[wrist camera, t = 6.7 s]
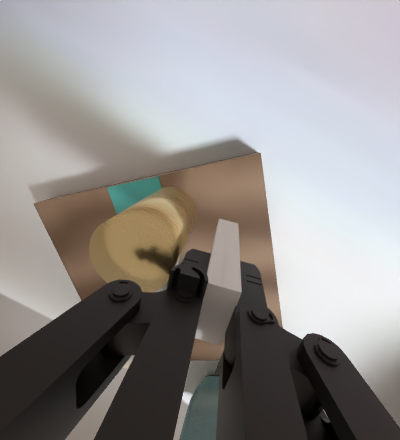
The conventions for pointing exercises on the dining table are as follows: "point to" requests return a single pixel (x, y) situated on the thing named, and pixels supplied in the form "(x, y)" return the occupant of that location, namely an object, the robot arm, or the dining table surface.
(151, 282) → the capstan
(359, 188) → the dining table surface
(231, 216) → the base plate
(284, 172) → the dining table surface
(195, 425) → the flower pot
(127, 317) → the robot arm
